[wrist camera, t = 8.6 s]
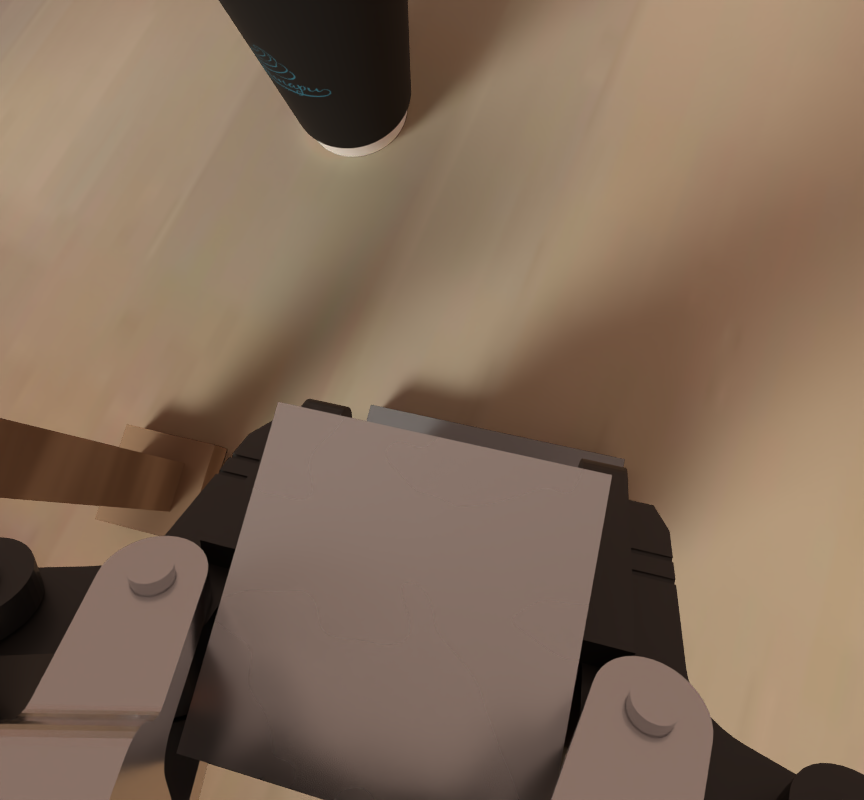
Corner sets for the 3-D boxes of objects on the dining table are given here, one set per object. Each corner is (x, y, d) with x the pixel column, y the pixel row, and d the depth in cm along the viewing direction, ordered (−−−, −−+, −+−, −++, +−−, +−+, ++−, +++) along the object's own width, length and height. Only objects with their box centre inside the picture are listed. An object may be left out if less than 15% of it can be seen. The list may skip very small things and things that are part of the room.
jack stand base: (315, 656, 24) (214, 722, 16) (377, 412, 26) (319, 348, 17) (570, 728, 23) (617, 845, 14) (617, 463, 25) (683, 423, 16)
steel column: (385, 612, 20) (164, 760, 7) (415, 486, 21) (272, 392, 8) (511, 645, 20) (550, 883, 6) (538, 515, 21) (623, 467, 7)
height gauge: (112, 519, 26) (-605, 484, 9) (142, 429, 27) (-468, 238, 10) (236, 552, 26) (-296, 579, 8) (264, 457, 26) (-173, 303, 9)
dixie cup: (269, 189, 29) (139, -14, 18) (283, 44, 31) (172, -217, 20) (437, 185, 28) (403, -29, 18) (443, 37, 30) (414, -240, 19)
